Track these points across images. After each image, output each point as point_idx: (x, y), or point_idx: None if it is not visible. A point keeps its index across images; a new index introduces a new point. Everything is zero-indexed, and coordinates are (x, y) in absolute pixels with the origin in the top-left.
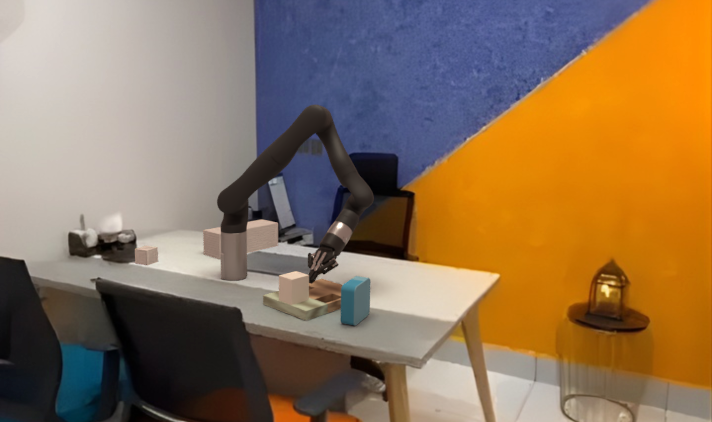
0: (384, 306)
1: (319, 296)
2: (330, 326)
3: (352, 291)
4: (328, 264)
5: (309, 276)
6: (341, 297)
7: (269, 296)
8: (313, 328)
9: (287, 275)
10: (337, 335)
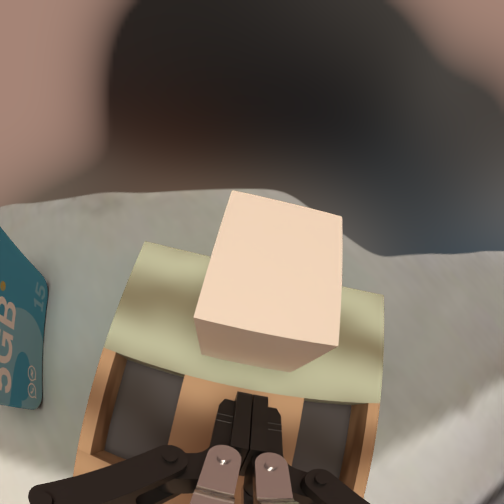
0: (9, 482)
1: (185, 420)
2: (70, 258)
3: None
4: (91, 479)
5: (248, 409)
6: (3, 231)
7: (359, 297)
8: (108, 225)
9: (309, 238)
10: (46, 220)
